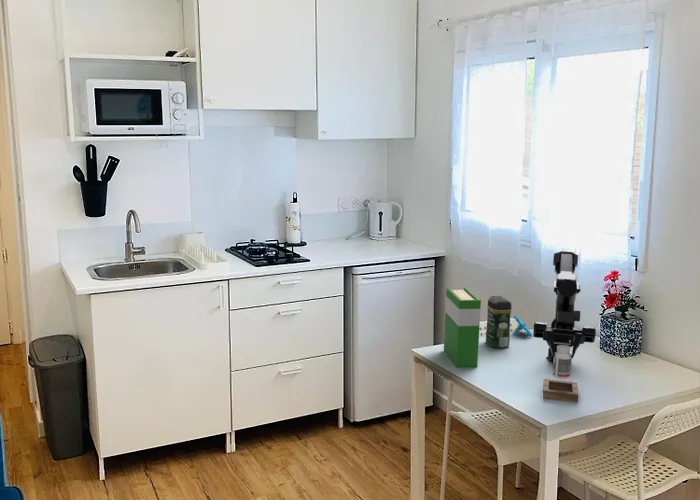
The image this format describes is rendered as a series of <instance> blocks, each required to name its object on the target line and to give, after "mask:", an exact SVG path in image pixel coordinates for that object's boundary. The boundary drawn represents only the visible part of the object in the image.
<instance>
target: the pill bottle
mask: <svg viewBox="0 0 700 500" xmlns="http://www.w3.org/2000/svg"><path fill="white" fill-rule="evenodd" d="M572 361H573V358H572V353H571V347H569V346H567V345H558V346H557V352H555V353H554V361H553V362H552V376H553V377H554V378H556V379H558V380H559V379H560V380H561V379H562V380H568V379H570V378H571V373H572V372H571V370H572Z"/></svg>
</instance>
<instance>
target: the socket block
mask: <svg viewBox="0 0 700 500" xmlns="http://www.w3.org/2000/svg"><path fill="white" fill-rule="evenodd" d="M578 387H579V386H578V382H577V381H569V380H559V379H548V378H543V383H542V399H543V400H550V401H559V402H568V403H576V404H577V403H579V388H578Z"/></svg>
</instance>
